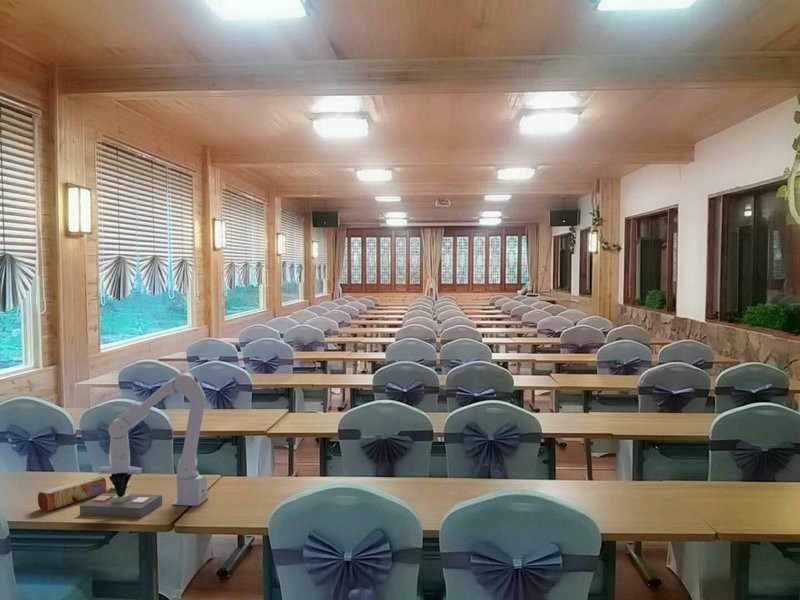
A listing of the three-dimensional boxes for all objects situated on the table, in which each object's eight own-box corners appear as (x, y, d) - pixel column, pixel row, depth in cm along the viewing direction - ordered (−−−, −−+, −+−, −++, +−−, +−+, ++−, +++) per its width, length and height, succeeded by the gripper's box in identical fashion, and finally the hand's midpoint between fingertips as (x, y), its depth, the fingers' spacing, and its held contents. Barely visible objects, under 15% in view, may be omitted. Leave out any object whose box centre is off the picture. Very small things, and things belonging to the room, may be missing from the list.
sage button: (130, 502, 201) (130, 493, 201) (123, 507, 197) (123, 498, 197) (120, 502, 201) (119, 493, 201) (112, 506, 197) (112, 497, 197)
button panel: (162, 503, 203) (162, 495, 203) (141, 517, 191) (141, 508, 191) (104, 501, 207) (103, 492, 207) (79, 514, 195) (79, 505, 195)
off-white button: (150, 506, 199) (149, 497, 199) (143, 511, 196) (142, 501, 195) (139, 506, 200) (138, 497, 200) (131, 510, 196) (131, 501, 196)
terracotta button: (112, 504, 202) (111, 496, 202) (104, 509, 198) (104, 500, 198) (101, 504, 203) (101, 495, 202) (93, 508, 199) (93, 499, 198)
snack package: (97, 491, 218) (97, 472, 218) (108, 494, 215) (107, 475, 215) (37, 510, 201) (36, 490, 200) (47, 513, 197) (46, 493, 197)
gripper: (92, 457, 196) (93, 498, 196) (132, 458, 193) (133, 500, 194) (106, 451, 203) (107, 491, 203) (145, 452, 200) (146, 492, 201)
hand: (121, 495), depth 199 cm, fingers closed
